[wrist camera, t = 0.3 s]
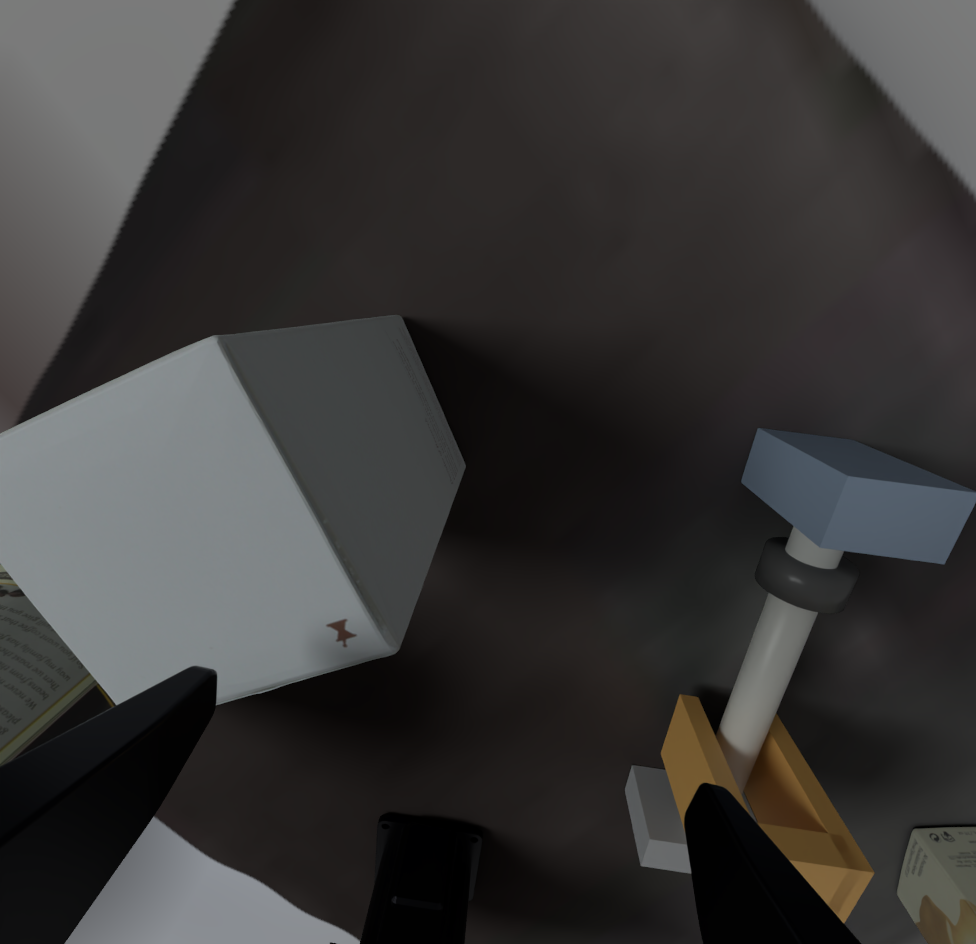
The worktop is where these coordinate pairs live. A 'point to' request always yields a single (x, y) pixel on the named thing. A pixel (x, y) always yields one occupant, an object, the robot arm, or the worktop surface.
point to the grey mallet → (804, 588)
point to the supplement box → (235, 508)
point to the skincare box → (941, 883)
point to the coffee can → (38, 678)
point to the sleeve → (772, 802)
